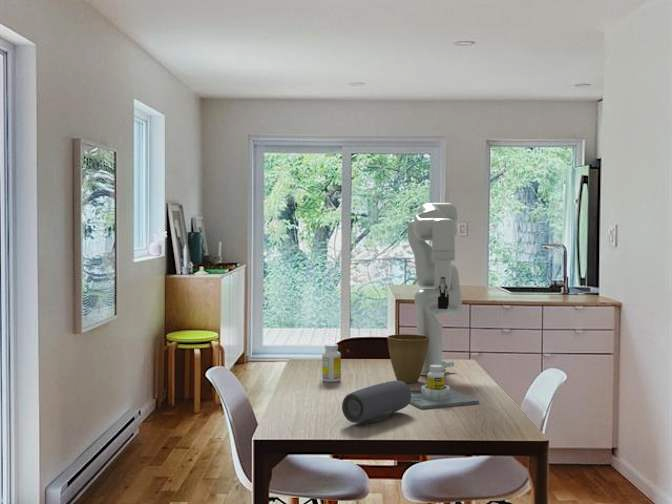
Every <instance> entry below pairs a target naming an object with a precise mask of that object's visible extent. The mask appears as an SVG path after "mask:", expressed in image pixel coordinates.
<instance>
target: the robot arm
mask: <svg viewBox="0 0 672 504" xmlns="http://www.w3.org/2000/svg"><path fill="white" fill-rule="evenodd" d="M457 222H458V210H457V208H456V206H455V204H453V203H451V202H428V203H424V204H422V205H421V206H420V207H419V208H418V210H417V214H416V215H415V216H414V218H413V220H410V221H409V222H408V224H407V226H406V233H407V240H408V244H409V246H410V248H411V251H412V253H413V256H414V264H415V277H416V283H417V285H418V286H419V287H420V288H422V289H420V290H417V291H416V292H415V294H414V308H415V314H416V335H423V336H427V337H429V343H428V349H427V354H426V358H425V362H424V365H423V369H422V372H421V375H420V376H426V377H427V376H428V373H429V372H430V365H441V366H442V373H444V375H446V374H447V368H453V367H454V366H455V362H454V361H445V360H443V325H442V323H441V321H440V320H439V319H438V318H437V316H436V315H455V314H459V313H460V312H461V311H462V305H463V303H462V302H463V301H462V292H461V284H460V275H459V270H458V268H457V266H456V265H454V264H453V263H452V261H456V235H457V231H458V230H457V229H458V228H457ZM426 241H430V242H431V245H430V244H429V243H428V242H426Z"/></svg>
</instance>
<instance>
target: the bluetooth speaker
mask: <svg viewBox="0 0 672 504" xmlns="http://www.w3.org/2000/svg"><path fill="white" fill-rule="evenodd" d="M410 391H411V390H410V387H409V386H408V383H404V382H402V381H397V380H391V381H386V382H381V383H377V384H374V385H370V386H367V387H366V386H365V387H364V388H360V389H358V390H355V391H352V392H351V393H350V392H349V393H347V394H346V395H345V397H344V398H343V399H342V403H341V410H342V413H343V416H344V417H345V419H346V420H347V421H349V422H350V423H353V424H359V423H366V422H367V423H366V424H373V423H372V422H374V423H377V422H381V421H384V420H387V419H388V417H389V418H391V415H392V414H393V413H396V412H398V411H401V410H403V409H405V408H406V407H407V406H408V405H410V401H411V392H410ZM380 420H381V421H380Z"/></svg>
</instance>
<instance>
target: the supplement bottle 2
mask: <svg viewBox="0 0 672 504" xmlns="http://www.w3.org/2000/svg"><path fill="white" fill-rule="evenodd" d="M426 378H427V379H426V380H427V383H426V385H427V389H444V385H445V374H444V373H442V366H441V365H430V372H429V373H428V376H426Z"/></svg>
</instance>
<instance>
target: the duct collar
mask: <svg viewBox="0 0 672 504" xmlns="http://www.w3.org/2000/svg"><path fill="white" fill-rule="evenodd" d="M410 392H411V401H410V403H409V405H412V406H415V407H416V408H418V409H420V410H427V409H429V410H430V409H438V408H447V407H448V408H449V407H458V406H471V405H479V404H480V399H476V398H475V397H471V396H469V395H467V394H465V393H463V392H459V391H458V390H455V389H453V388H451V386H450V385H446V384H444V389H427V384H424V385H421V388H420V389H419V390H410Z"/></svg>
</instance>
